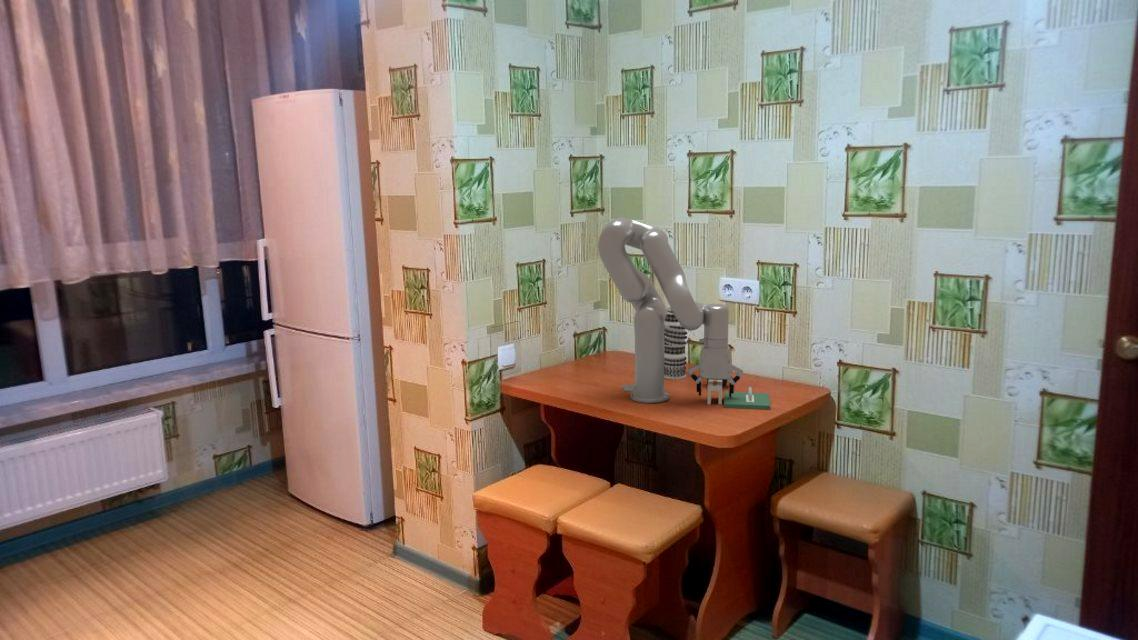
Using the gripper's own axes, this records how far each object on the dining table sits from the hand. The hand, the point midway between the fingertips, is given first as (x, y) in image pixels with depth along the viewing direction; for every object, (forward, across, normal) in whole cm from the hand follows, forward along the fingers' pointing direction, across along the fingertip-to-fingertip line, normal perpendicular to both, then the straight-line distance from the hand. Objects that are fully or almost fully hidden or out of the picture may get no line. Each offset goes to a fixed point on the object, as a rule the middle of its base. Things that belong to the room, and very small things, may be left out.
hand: (715, 395), depth 252 cm
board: (+2, +10, 0) cm, 10 cm away
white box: (+2, 0, 0) cm, 2 cm away
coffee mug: (+2, 0, +20) cm, 20 cm away
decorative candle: (+2, -15, +29) cm, 33 cm away
